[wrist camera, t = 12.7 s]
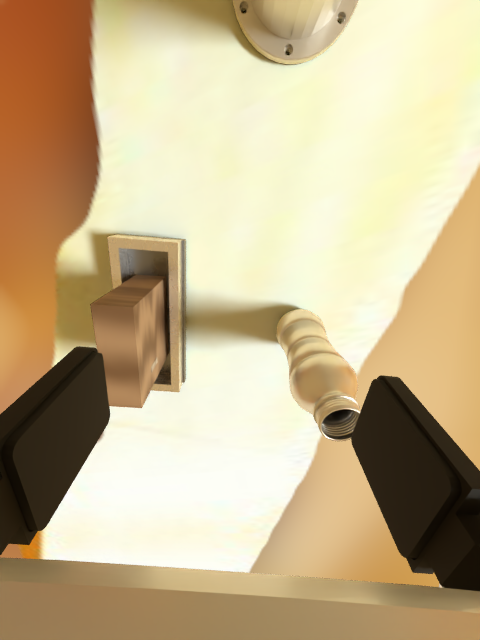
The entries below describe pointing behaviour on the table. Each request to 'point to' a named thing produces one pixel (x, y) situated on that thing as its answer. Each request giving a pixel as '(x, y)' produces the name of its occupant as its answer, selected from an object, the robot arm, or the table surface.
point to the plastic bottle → (319, 374)
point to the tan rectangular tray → (169, 262)
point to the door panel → (132, 337)
